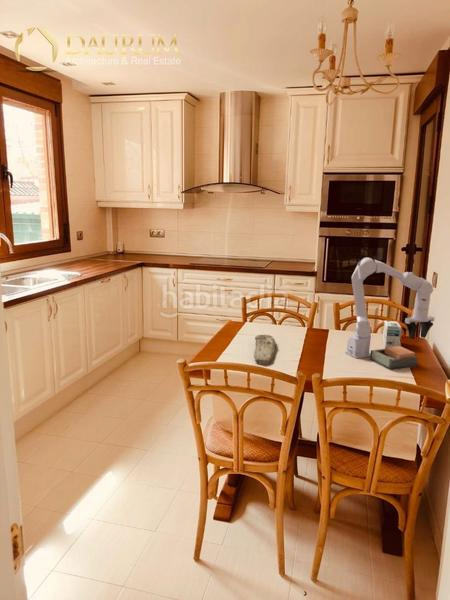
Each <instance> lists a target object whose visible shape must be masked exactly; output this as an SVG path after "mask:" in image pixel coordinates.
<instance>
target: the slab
mask: <svg viewBox="0 0 450 600" xmlns="http://www.w3.org/2000/svg"><path fill="white" fill-rule="evenodd" d="M384 349H385V352H384V353H386V354H388V355H390V356H392V357H394V358H396V359H400V358H408V357H415V355H416V352H414V351H412V350H409V349H408V348H405V347H403V346H401V345H400V346H395V347H384Z"/></svg>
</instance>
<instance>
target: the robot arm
mask: <svg viewBox="0 0 450 600" xmlns="http://www.w3.org/2000/svg"><path fill="white" fill-rule="evenodd" d="M353 271H354V272H353V273H352V275H351V285H352V292H353V300H354V306H355V315H356V323H355V329H356V331H355V332H354V335H352V336H349V338H348V340H347V347H346V351H345V353H346V354H347V355H350V356H351V357H354V358H355V359H361V358H367V357H369V358H370V353H371V352H370V348H371V337H372V336H371V334H372V328H371V324H370V322H369V319H368V314H367V305H366V297H365V289H364V280H366V278H367V277H368V276H370V275H373V274H374V273H376V274H377V273H378V274H379V273H384V274H386V275H388V276H391V277H393V278H395V279H397V280H399V283H400V284H401V285H403V286H404V287H407V288H409V289H411V290H413V291H416V294H415V299H414V307H413V314H412V316H411V317H406V318H404V319H405V320H404V323H405V326H406V328H407V331H408V336H409V337H408V338H409V339H411V340H415V337H416V332H417V329H418V328H419V324H418V323H420V338H423V339H426V337H427V334H428V332H429V331H430V329H431V328H432V327H433V325H434V323H433V322H435V316H432V315H431V316H429V308H430V304H431V303H430V302H431V294H432V293H433V292H434V289H433V285H432V283H430V282H429V281H428V280H426V279H425V278H423V277H419V276H417V275H415V273H414V272H412V271H410V272H409V271H406V272H402V271H400V270H397V268H394V267H393V266H390V265H389V264H387V263H384V262H383V261H379V260H377V259H373V258H371V257H363V258H362V259H361V260H360V261H359V262H358V263H357V265H356V267H355V269H354V270H353Z"/></svg>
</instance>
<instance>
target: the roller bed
mask: <svg viewBox="0 0 450 600" xmlns="http://www.w3.org/2000/svg"><path fill="white" fill-rule="evenodd" d="M384 352H385V348H380V349H372V350H370V352H369V353H370V357H369V360H370V361H372V362H375V364H378V365H379V366H381V367H383V368H385V369H387V370H389V371H395V370H401V369H403V370H404V369H409V368H416V367H417V366H418V358H419V357H417V356H414V357H408V358H400V359H396V358H394V357H392V356H390V355H388V354H386V353H384Z"/></svg>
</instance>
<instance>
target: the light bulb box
mask: <svg viewBox="0 0 450 600" xmlns="http://www.w3.org/2000/svg"><path fill="white" fill-rule="evenodd" d="M402 328H403V327H402V326H401V325H400V323H399V321H394V320H393V321H392V320H384V322H383V332H382V343H383V344H384V348H386V347H395V346H401V345H400V344H401V343H400V342H401V337H402V330H403V329H402Z"/></svg>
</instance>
